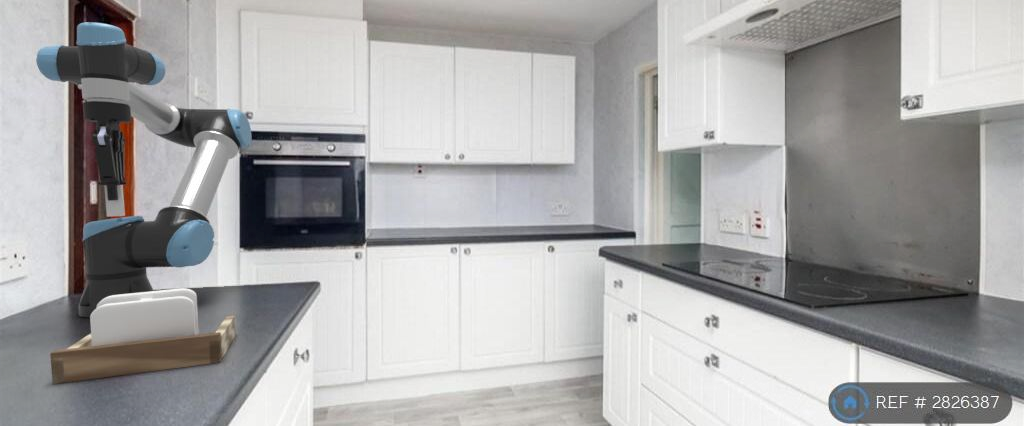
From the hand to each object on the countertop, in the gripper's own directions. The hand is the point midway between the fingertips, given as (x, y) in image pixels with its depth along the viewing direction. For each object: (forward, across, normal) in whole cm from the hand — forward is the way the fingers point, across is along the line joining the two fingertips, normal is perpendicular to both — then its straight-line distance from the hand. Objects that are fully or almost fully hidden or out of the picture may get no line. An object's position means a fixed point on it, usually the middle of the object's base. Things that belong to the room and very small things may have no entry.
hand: (116, 215), depth 100 cm
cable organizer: (+25, +23, +8) cm, 35 cm away
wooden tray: (+25, +22, +9) cm, 34 cm away
